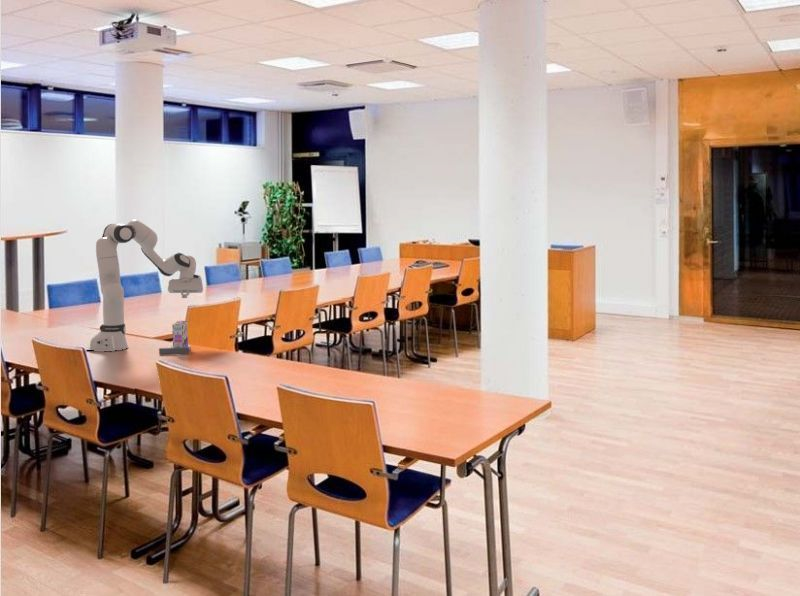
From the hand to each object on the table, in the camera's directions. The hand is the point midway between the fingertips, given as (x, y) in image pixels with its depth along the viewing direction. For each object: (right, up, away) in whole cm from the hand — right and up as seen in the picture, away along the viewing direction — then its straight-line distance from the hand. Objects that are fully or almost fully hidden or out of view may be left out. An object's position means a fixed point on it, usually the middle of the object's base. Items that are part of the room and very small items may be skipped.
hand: (184, 297), depth 438 cm
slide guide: (+2, -30, -20) cm, 37 cm away
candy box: (+4, -30, -20) cm, 36 cm away
